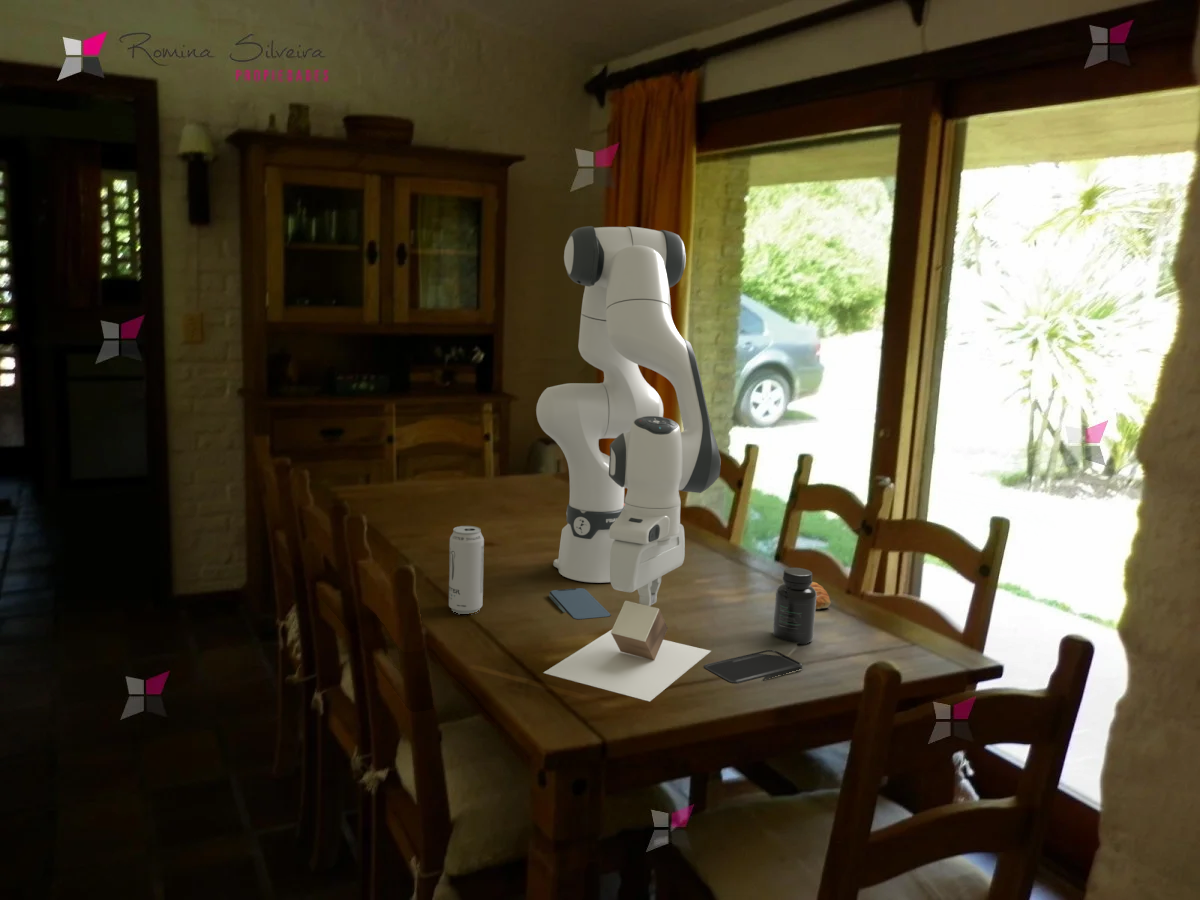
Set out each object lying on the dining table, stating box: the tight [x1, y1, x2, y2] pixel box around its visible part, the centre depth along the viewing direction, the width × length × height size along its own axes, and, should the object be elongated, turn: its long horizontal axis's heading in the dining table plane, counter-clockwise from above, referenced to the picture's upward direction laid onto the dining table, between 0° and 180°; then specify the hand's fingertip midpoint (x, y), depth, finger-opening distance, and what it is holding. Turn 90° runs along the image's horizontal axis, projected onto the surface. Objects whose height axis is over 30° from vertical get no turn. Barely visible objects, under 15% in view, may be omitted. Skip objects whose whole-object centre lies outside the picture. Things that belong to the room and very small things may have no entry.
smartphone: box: [548, 587, 612, 621], centre depth 181 cm, size 8×2×15 cm
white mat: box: [542, 629, 712, 702], centre depth 155 cm, size 23×18×1 cm
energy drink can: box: [448, 525, 485, 615], centre depth 175 cm, size 6×6×15 cm
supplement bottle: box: [772, 567, 817, 646], centre depth 169 cm, size 7×7×12 cm
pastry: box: [810, 581, 832, 610], centre depth 189 cm, size 9×7×4 cm
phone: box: [703, 649, 803, 684], centre depth 155 cm, size 8×1×15 cm
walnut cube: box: [611, 600, 669, 660], centre depth 157 cm, size 6×6×6 cm
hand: (647, 604), depth 158 cm, fingers closed
